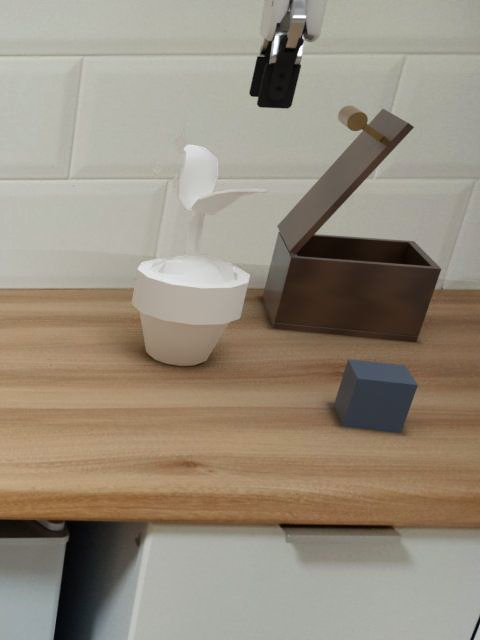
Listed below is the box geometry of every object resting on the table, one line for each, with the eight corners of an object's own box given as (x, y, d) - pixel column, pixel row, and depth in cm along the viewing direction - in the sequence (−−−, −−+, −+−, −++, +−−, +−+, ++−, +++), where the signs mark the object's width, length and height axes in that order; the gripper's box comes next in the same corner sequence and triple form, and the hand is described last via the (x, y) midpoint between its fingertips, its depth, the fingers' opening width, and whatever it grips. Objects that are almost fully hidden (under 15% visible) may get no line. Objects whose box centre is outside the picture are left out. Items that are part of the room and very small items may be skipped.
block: (389, 412, 87) (405, 364, 85) (401, 433, 83) (418, 384, 81) (333, 405, 89) (347, 358, 86) (342, 426, 84) (357, 378, 82)
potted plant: (101, 345, 103) (137, 114, 90) (184, 334, 106) (230, 109, 94) (172, 387, 93) (224, 132, 80) (261, 372, 96) (324, 126, 84)
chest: (392, 309, 114) (414, 241, 110) (416, 342, 104) (441, 268, 100) (262, 297, 118) (278, 231, 114) (272, 329, 108) (291, 257, 104)
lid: (388, 112, 105) (352, 86, 105) (414, 127, 94) (374, 99, 94) (281, 229, 114) (248, 206, 114) (294, 255, 103) (258, 229, 103)
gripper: (373, -97, 77) (319, 114, 86) (340, -85, 92) (296, 94, 100) (280, -96, 79) (236, 110, 88) (262, -85, 94) (226, 91, 102)
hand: (268, 101), depth 94 cm, fingers open, 9 cm apart
